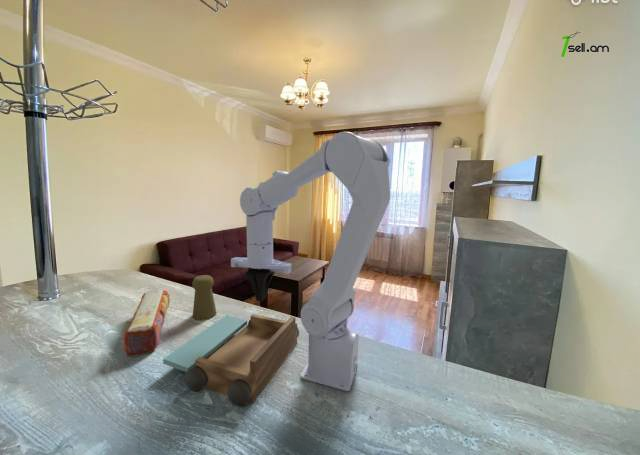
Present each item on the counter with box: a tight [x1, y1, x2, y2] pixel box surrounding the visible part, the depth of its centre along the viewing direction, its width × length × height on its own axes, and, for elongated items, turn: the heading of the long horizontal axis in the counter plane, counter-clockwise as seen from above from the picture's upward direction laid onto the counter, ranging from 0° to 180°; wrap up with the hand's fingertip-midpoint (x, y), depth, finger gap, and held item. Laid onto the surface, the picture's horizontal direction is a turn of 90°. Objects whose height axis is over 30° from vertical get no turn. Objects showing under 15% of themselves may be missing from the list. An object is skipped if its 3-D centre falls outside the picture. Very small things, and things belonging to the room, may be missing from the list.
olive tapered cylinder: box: [191, 274, 217, 321], centre depth 72 cm, size 6×6×11 cm
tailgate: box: [162, 314, 248, 373], centre depth 57 cm, size 2×18×7 cm
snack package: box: [123, 289, 171, 357], centre depth 64 cm, size 21×7×7 cm, turn 23°
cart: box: [183, 313, 300, 408], centre depth 54 cm, size 13×20×7 cm, turn 161°
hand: (261, 299), depth 61 cm, fingers closed
